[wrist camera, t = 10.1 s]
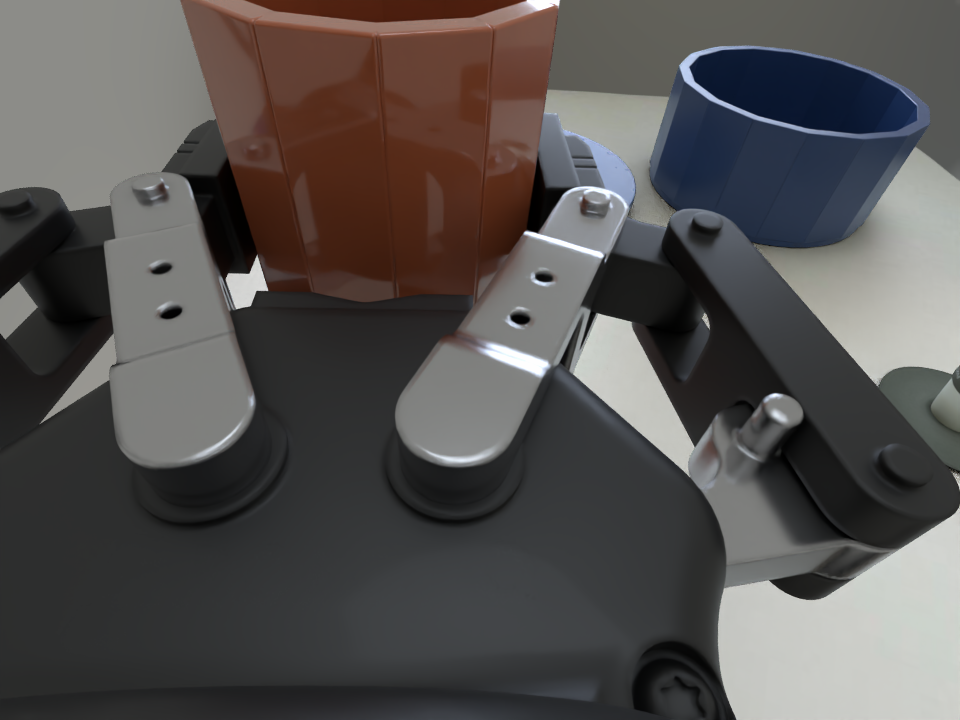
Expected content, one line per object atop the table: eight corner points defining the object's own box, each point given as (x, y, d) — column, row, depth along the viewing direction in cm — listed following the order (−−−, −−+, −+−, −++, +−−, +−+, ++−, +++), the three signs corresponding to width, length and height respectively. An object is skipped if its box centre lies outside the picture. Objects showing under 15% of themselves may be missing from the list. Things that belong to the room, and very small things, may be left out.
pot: (659, 232, 41) (698, 121, 35) (642, 133, 53) (669, 37, 46) (894, 260, 40) (978, 151, 34) (823, 153, 52) (875, 57, 45)
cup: (271, 449, 14) (83, 1, 7) (340, 304, 18) (272, -77, 10) (490, 483, 14) (553, 54, 6) (512, 328, 17) (566, -47, 10)
